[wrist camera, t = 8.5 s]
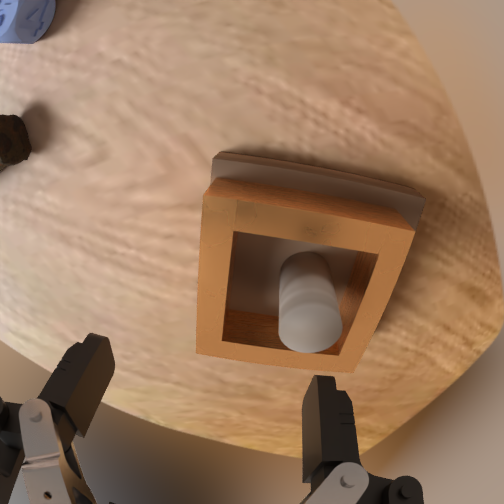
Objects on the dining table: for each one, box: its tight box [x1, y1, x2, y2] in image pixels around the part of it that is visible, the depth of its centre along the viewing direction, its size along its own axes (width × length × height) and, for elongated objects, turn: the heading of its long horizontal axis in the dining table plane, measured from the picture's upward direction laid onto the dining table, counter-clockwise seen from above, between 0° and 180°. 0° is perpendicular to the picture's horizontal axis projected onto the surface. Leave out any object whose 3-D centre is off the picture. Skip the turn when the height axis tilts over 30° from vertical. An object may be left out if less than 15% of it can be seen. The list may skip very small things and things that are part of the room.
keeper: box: [210, 152, 426, 353], centre depth 17 cm, size 12×12×7 cm
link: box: [196, 178, 415, 373], centre depth 17 cm, size 10×10×3 cm
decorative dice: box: [0, 0, 56, 44], centre depth 11 cm, size 4×4×4 cm
